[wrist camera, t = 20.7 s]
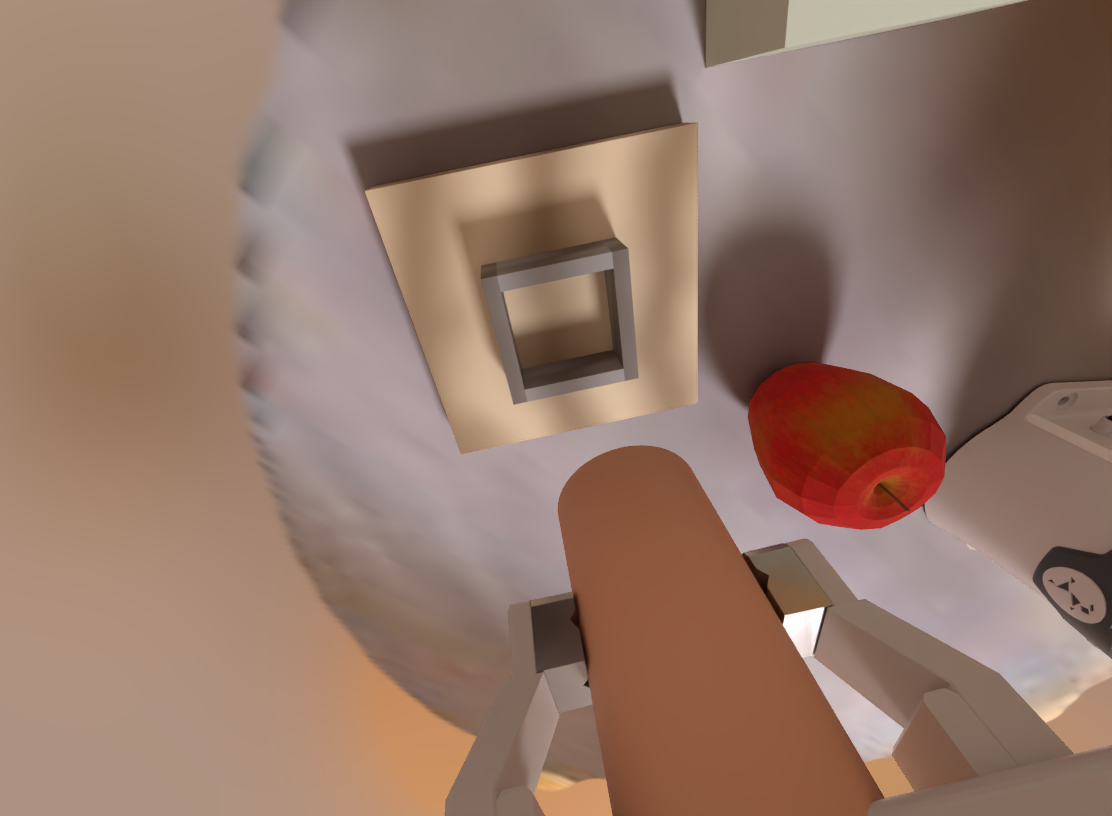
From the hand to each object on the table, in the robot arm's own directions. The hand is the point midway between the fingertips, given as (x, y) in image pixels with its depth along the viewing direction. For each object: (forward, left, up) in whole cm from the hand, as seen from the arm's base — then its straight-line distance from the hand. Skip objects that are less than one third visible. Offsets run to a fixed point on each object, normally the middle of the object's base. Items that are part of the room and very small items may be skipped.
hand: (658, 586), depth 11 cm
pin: (0, 0, -3) cm, 3 cm away
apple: (-15, +10, -20) cm, 27 cm away
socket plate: (0, 0, -20) cm, 20 cm away
